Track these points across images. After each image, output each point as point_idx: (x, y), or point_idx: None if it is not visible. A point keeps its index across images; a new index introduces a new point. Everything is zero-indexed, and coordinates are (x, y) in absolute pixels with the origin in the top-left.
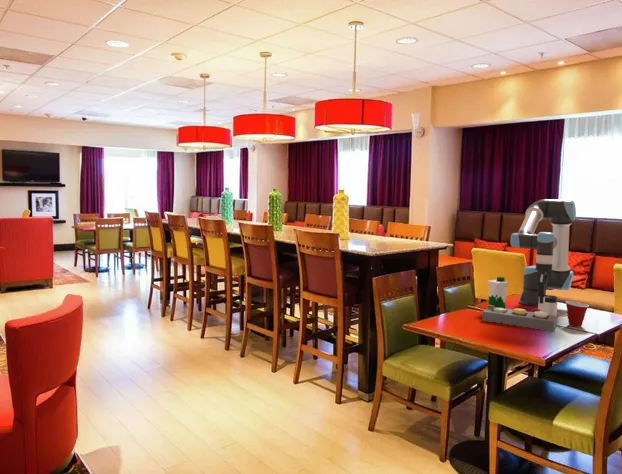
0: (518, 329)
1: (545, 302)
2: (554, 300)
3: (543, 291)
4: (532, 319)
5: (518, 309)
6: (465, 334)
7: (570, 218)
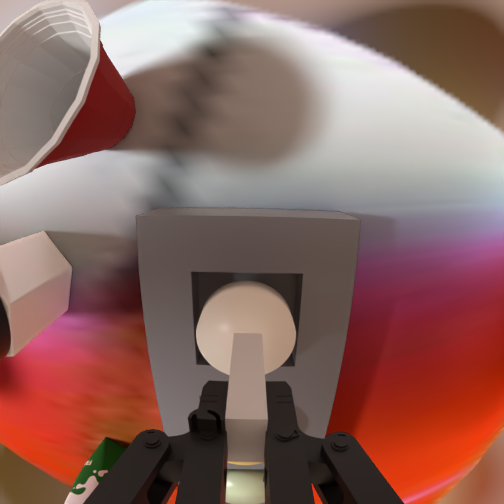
0: (379, 368)
1: (11, 332)
2: None
3: (386, 486)
4: (341, 352)
5: None
6: (477, 439)
7: None
